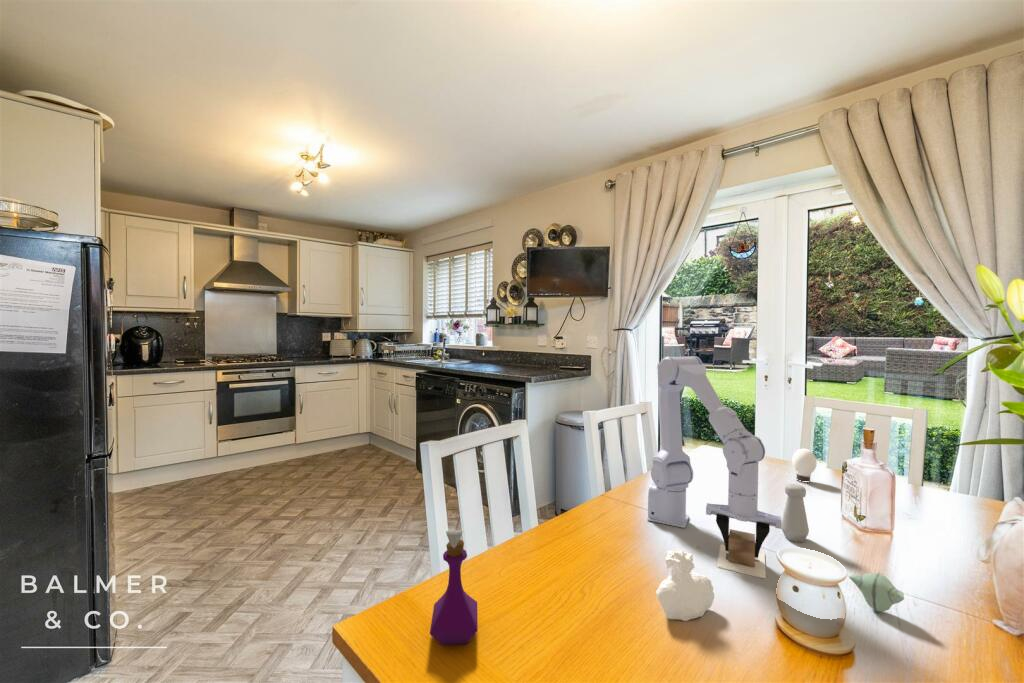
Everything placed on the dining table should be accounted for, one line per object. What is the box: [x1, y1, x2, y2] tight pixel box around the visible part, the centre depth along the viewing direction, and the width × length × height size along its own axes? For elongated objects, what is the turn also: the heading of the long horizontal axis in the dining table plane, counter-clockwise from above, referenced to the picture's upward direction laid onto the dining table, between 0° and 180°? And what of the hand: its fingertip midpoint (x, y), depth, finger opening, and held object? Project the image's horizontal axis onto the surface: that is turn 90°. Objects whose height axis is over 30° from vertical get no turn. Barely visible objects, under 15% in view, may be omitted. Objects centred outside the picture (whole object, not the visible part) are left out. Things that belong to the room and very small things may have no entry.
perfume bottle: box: [429, 529, 479, 646], centre depth 72 cm, size 8×8×18 cm
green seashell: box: [848, 571, 905, 613], centre depth 79 cm, size 8×4×7 cm, turn 34°
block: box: [728, 528, 756, 567], centre depth 96 cm, size 5×5×5 cm
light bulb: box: [791, 448, 817, 482], centre depth 146 cm, size 7×7×11 cm
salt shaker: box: [780, 483, 810, 543], centre depth 106 cm, size 6×6×13 cm
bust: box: [655, 547, 715, 622], centre depth 80 cm, size 12×8×11 cm
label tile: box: [716, 543, 767, 580], centre depth 96 cm, size 9×11×1 cm
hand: (741, 552), depth 96 cm, fingers closed on block, 5 cm apart
